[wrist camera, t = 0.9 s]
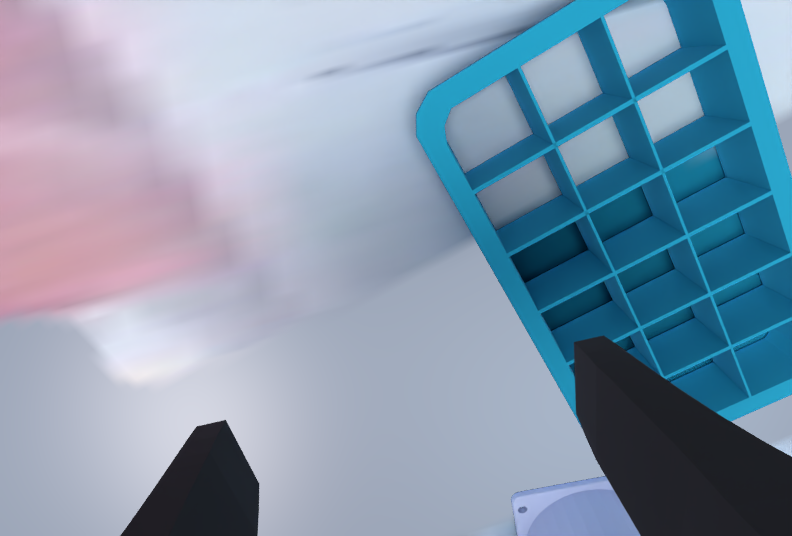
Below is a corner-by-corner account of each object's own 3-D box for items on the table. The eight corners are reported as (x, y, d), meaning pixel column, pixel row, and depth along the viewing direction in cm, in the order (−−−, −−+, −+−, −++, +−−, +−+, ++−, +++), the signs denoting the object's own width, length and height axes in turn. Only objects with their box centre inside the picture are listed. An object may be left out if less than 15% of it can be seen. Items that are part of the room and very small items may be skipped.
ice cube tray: (666, -66, 19) (715, -86, 16) (798, 336, 26) (847, 369, 23) (398, 102, 21) (401, 109, 18) (586, 433, 28) (609, 475, 25)
